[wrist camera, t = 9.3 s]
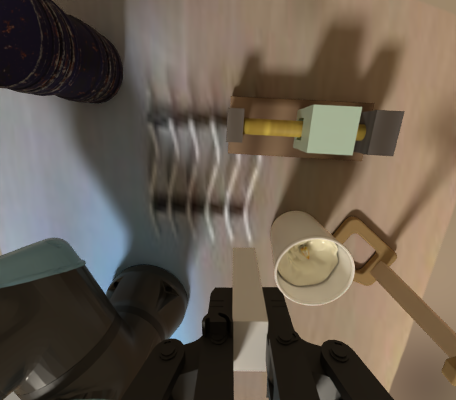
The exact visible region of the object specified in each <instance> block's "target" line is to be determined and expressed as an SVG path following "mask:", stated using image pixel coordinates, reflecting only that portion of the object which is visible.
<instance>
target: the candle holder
mask: <svg viewBox="0 0 456 400" xmlns="http://www.w3.org/2000/svg"><path fill="white" fill-rule="evenodd" d="M270 241H271V249H272V257H273V264H274V276H275V281H276V284H277V286H278V288H279V290H280V291H281V292H282V293H283V294H284V295H285V296H286V297H287V298H288V299H290V300H292V301H294V302H296V303H299V304H302V305H309V306H316V305H323V304H326V303H329V302H332V301H334V300H336V299H337V298H339V297H340V296H341V295H343V294H344V293H345V292H346V291H347V289H348V288H349V287H350V285H351V283H352V281H353V279H354V275H355V263H354V260H353V257H352V255H351V253H350V252H349V250H348V249H347V248H346V247H345V246H344V245H343V244H341V243H340V242H339V241H338V240H337V239H336V238H335V237H334V236H332V235H331V234H330V233H329V232H328V231H327V230H326V229H325V228H324V227H323V226H322V225H321V224H320V223H319V222H318V221H317V220H316V219H315V218H313V217H312V216H311V215H309V214H308V213H305V212H302V211H289V212H286V213H284V214H282V215H280V216H279V217H278V218H277V219H276V220H275V221H274V223H273V224H272V227H271V230H270Z"/></svg>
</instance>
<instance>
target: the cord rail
mask: <svg viewBox="0 0 456 400" xmlns="http://www.w3.org/2000/svg"><path fill="white" fill-rule="evenodd" d="M311 105H333V106H352V107H362V111H361V116H360V121H359V126H358V131H357V136H356V141H355V146H354V150H353V155H336V154H319V153H306V152H303V151H301V150H299V149H296V148H293V143H294V137H301V135H302V128H303V121H296V120H297V113H298V110H299V109H303V108H305V107H308V106H311ZM373 108H374V103H356V102H336V101H316V100H296V99H276V98H256V97H236V96H231V106H230V108H228V118H227V139H226V142H229V145H228V153H233V154H250V155H267V156H284V157H301V158H318V159H335V160H352V161H362V158H363V154H367V155H382V156H393V155H394V151H395V147H396V143H397V139H398V135H399V131H400V127H401V123H402V119H403V116H404V112H405V111H386V110H374V111H373Z"/></svg>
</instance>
